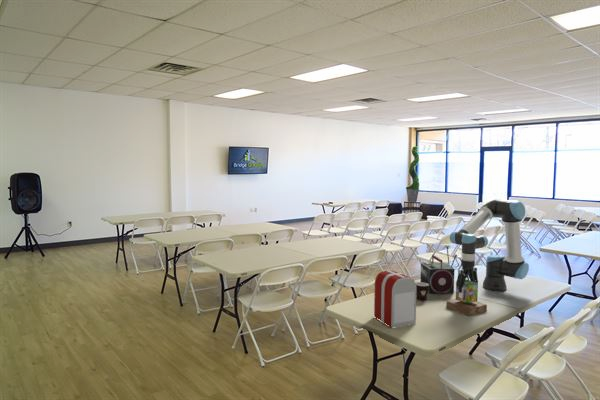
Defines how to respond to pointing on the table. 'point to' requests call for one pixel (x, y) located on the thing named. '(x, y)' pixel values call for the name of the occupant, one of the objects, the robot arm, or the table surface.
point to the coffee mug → (421, 291)
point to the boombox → (438, 276)
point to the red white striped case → (395, 298)
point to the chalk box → (468, 291)
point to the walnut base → (466, 307)
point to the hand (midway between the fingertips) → (466, 296)
